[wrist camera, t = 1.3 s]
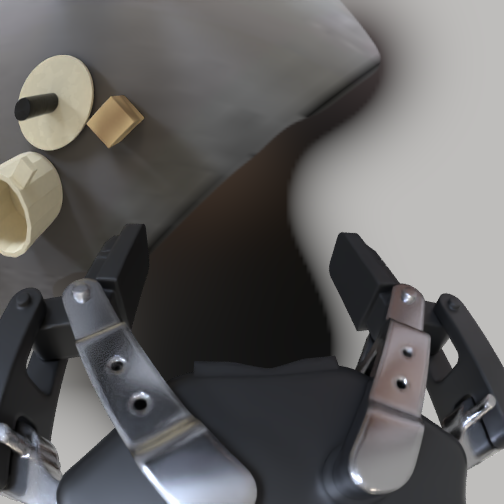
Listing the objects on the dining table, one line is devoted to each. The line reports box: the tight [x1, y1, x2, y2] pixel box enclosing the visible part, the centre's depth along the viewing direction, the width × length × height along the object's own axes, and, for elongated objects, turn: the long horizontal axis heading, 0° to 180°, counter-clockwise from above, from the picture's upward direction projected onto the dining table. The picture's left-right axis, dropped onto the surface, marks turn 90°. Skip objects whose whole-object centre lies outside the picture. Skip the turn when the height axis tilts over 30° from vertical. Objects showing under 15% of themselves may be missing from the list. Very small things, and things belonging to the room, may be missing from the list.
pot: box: [0, 152, 63, 257], centre depth 25 cm, size 11×17×8 cm
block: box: [87, 95, 144, 148], centre depth 24 cm, size 4×4×4 cm
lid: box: [15, 55, 94, 150], centre depth 20 cm, size 12×12×7 cm
